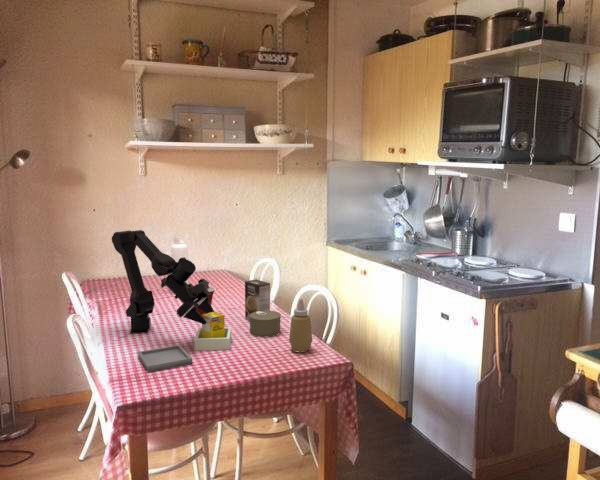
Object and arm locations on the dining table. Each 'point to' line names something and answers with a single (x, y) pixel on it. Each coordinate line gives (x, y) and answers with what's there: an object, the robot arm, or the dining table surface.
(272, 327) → the can
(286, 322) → the dining table surface
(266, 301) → the coffee box
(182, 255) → the bottle
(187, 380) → the dining table surface
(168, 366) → the tray
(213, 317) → the supplement box
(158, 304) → the dining table surface
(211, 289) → the plastic cup
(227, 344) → the white square frame
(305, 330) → the squeeze bottle
